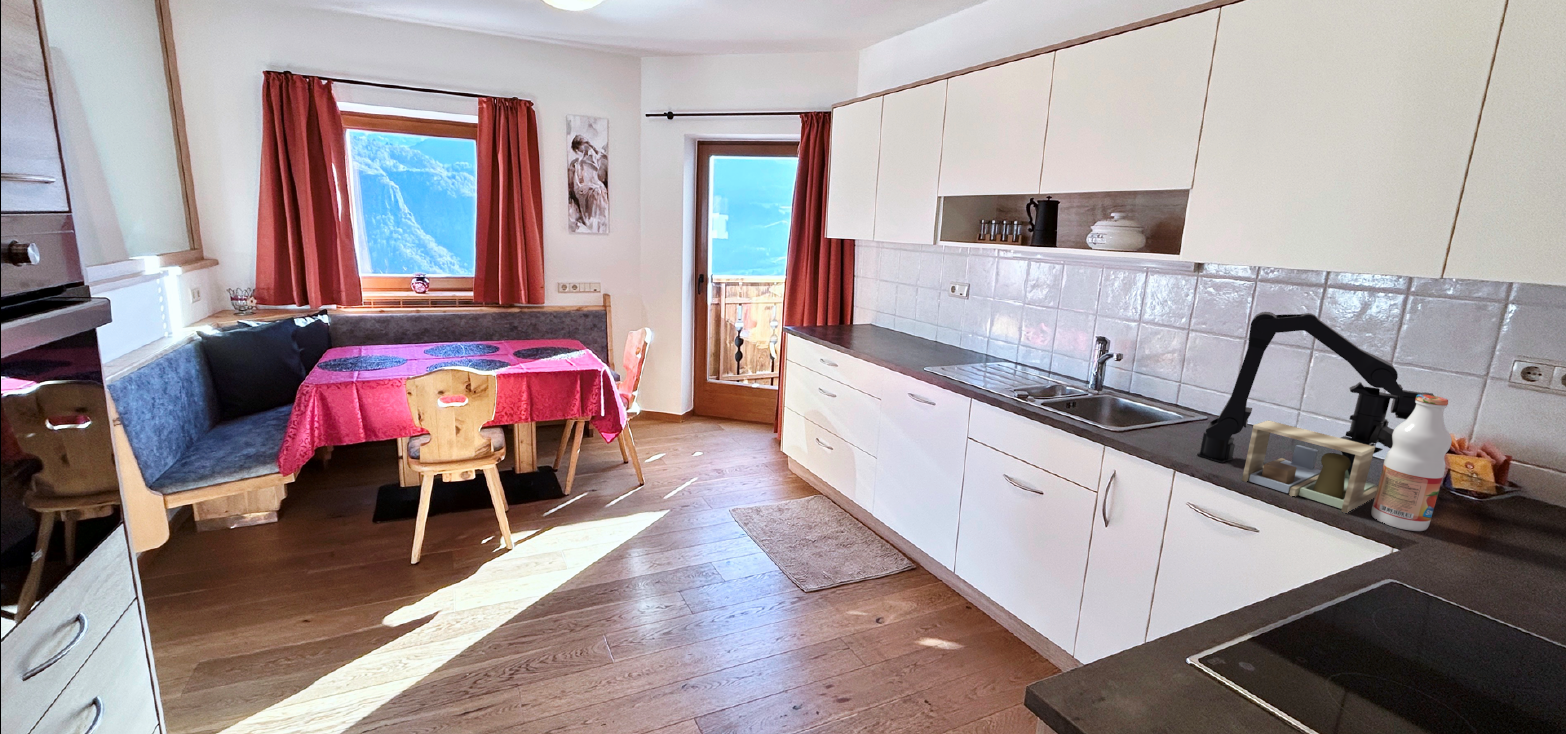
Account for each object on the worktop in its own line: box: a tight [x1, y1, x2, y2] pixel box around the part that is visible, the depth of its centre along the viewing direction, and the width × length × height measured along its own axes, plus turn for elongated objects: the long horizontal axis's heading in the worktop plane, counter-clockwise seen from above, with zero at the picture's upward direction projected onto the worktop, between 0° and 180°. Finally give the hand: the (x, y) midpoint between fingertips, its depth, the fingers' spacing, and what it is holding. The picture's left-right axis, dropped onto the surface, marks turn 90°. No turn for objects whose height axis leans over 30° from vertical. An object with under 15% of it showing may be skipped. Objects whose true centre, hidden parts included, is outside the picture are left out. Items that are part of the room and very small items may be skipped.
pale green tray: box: [1298, 470, 1376, 510], centre depth 160 cm, size 8×20×7 cm, turn 124°
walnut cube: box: [1262, 460, 1297, 485], centre depth 165 cm, size 5×5×5 cm
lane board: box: [1241, 420, 1378, 514], centre depth 163 cm, size 21×22×14 cm
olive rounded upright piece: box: [1313, 452, 1350, 500], centre depth 156 cm, size 6×6×11 cm
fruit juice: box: [1371, 394, 1453, 532], centre depth 144 cm, size 9×9×28 cm
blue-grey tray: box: [1248, 444, 1321, 494], centre depth 167 cm, size 8×20×7 cm, turn 124°
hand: (1354, 475), depth 165 cm, fingers open, 2 cm apart
